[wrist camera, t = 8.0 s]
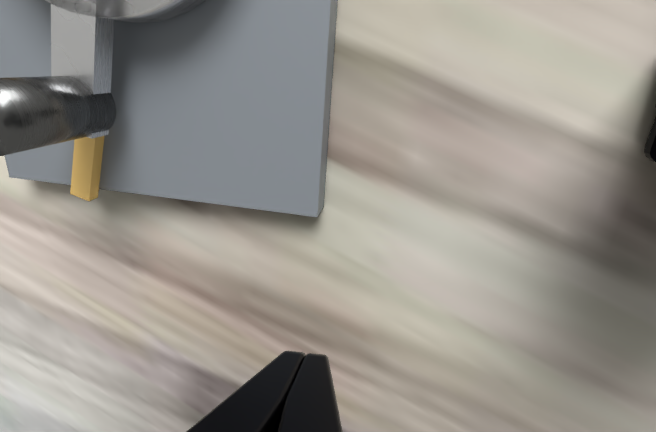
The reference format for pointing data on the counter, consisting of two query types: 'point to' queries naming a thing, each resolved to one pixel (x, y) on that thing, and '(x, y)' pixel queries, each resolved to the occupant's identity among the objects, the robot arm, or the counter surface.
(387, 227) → the counter surface
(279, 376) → the robot arm
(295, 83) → the slate board
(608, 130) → the counter surface
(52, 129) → the silver round handled piece
